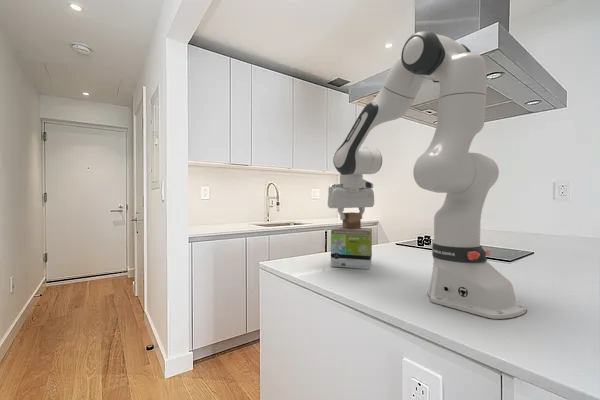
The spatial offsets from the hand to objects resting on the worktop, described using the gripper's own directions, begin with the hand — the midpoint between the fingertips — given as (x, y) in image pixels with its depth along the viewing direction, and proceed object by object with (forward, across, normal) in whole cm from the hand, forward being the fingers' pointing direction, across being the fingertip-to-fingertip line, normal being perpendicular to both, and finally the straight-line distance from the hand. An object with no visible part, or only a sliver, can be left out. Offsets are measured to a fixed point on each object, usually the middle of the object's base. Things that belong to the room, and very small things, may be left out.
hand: (351, 219), depth 122 cm
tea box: (+18, 0, 0) cm, 18 cm away
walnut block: (+3, 0, 0) cm, 3 cm away
